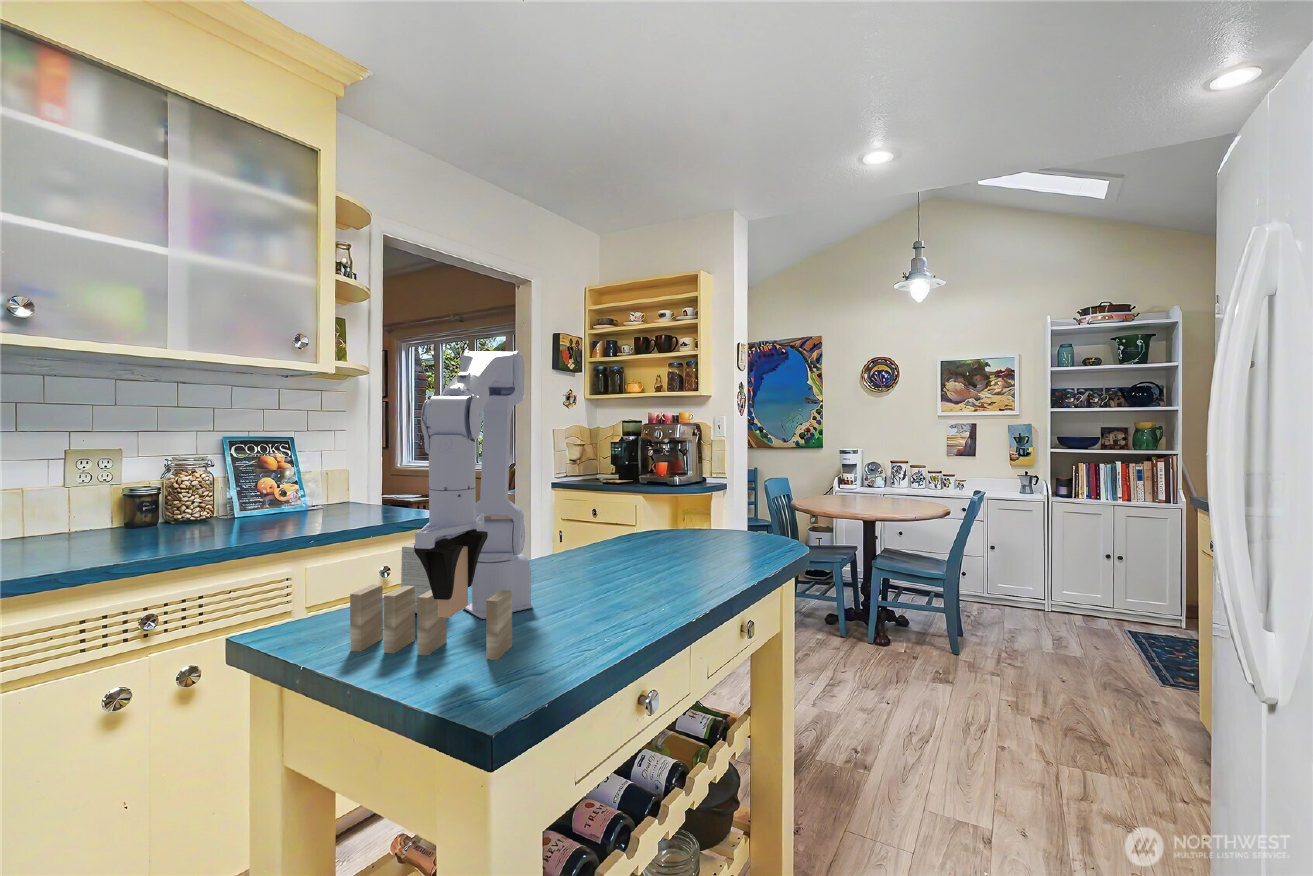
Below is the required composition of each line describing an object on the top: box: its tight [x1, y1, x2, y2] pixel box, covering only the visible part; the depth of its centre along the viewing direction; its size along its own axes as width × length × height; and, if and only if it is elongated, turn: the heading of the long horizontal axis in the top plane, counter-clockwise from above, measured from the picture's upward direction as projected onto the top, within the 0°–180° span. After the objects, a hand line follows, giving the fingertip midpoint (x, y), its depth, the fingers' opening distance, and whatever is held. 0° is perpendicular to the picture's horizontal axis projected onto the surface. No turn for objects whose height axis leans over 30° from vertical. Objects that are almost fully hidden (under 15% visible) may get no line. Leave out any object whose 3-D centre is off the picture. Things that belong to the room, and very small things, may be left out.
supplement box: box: [400, 542, 431, 617], centre depth 99 cm, size 6×6×12 cm
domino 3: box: [416, 590, 448, 656], centre depth 82 cm, size 2×5×8 cm, turn 172°
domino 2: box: [383, 586, 416, 654], centre depth 83 cm, size 2×5×8 cm, turn 172°
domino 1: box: [349, 584, 384, 653], centre depth 83 cm, size 2×5×8 cm, turn 172°
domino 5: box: [485, 590, 513, 661], centre depth 81 cm, size 2×5×8 cm, turn 172°
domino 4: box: [438, 546, 469, 619], centre depth 76 cm, size 2×5×8 cm, turn 172°
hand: (453, 592), depth 76 cm, fingers closed on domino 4, 5 cm apart
